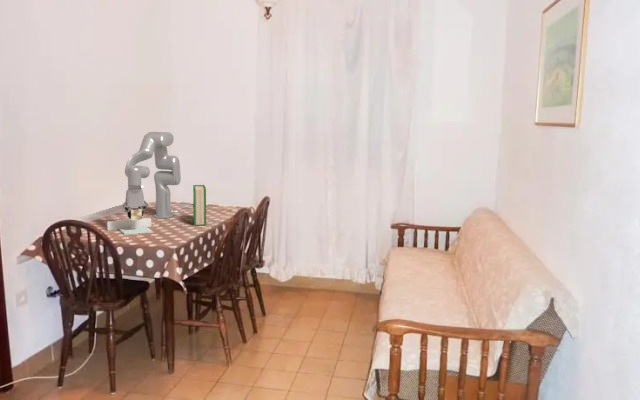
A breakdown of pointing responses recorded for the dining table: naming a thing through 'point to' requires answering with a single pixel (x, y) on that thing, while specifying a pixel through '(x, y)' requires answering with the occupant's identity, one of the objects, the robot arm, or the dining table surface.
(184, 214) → the dining table surface
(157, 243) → the dining table surface
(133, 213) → the maple letter block
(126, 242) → the dining table surface
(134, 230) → the sage mat
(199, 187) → the hardback book
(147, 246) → the dining table surface
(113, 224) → the off-white screen
